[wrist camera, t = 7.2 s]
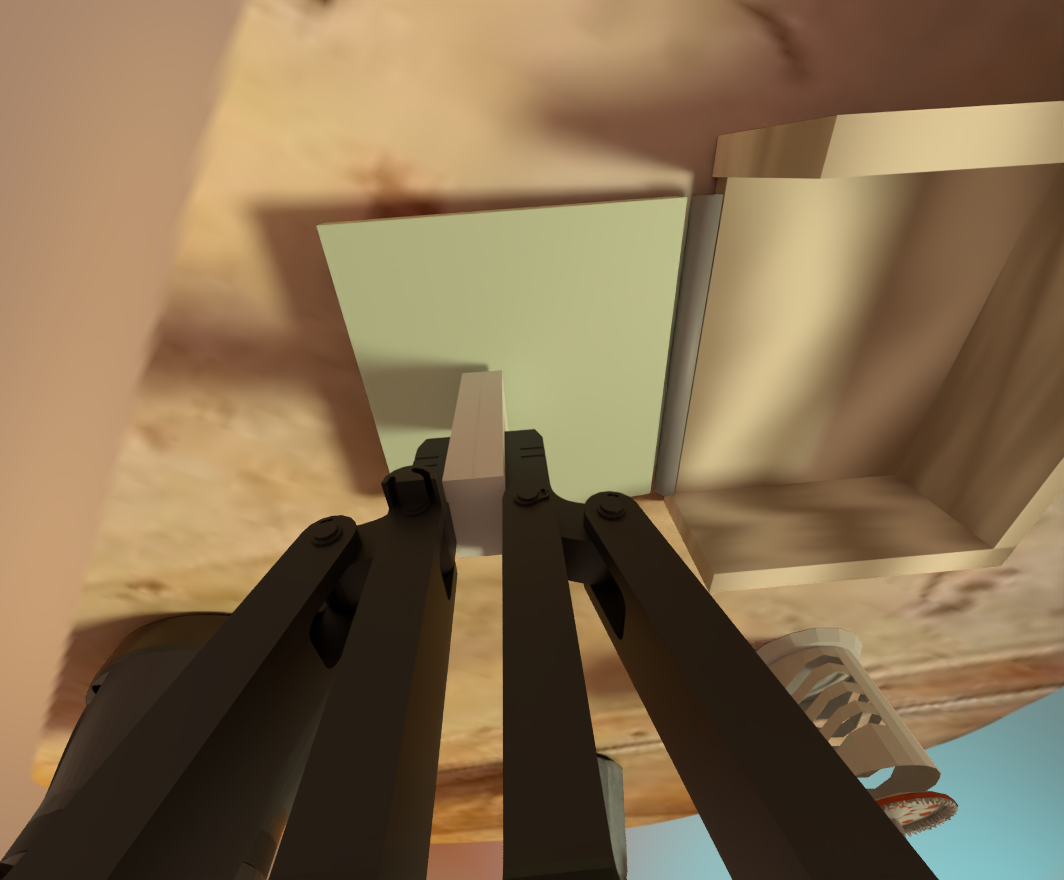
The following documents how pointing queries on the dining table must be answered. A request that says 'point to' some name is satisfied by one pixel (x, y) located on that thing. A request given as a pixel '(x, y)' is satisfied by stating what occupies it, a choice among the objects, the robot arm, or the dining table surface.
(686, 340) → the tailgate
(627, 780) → the dining table surface
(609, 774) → the moka pot
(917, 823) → the french press
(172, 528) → the dining table surface
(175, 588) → the dining table surface
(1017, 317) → the crate
